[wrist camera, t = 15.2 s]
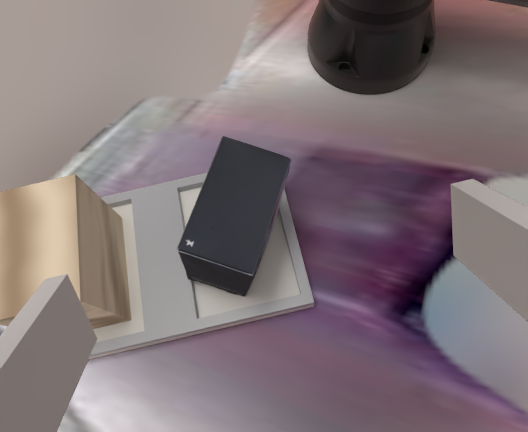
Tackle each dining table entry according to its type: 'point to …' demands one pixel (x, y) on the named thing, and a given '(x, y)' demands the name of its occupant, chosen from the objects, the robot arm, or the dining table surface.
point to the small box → (233, 216)
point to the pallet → (175, 279)
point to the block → (63, 248)
